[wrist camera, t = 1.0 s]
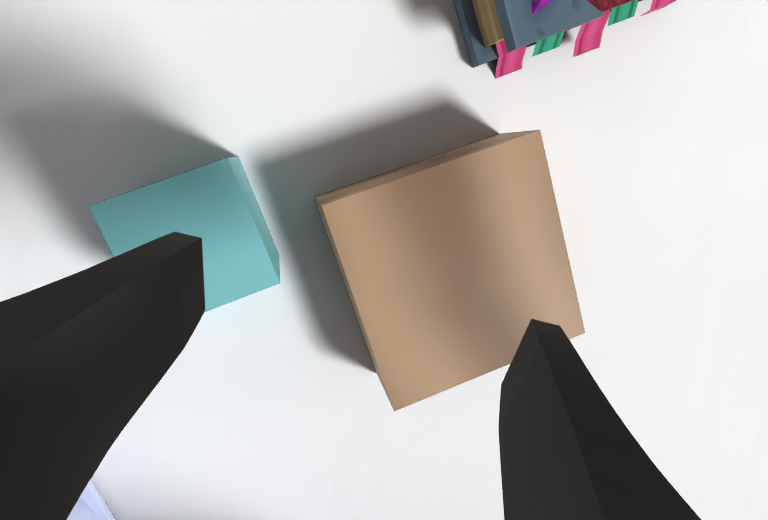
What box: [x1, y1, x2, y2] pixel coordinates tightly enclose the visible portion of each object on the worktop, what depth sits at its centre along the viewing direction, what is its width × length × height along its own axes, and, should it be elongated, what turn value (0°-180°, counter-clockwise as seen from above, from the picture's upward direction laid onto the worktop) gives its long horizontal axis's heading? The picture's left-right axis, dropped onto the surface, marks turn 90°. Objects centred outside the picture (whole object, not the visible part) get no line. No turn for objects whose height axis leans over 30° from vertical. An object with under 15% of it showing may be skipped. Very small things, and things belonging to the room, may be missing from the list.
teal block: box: [88, 157, 280, 312], centre depth 19 cm, size 4×4×5 cm
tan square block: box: [314, 130, 585, 411], centre depth 22 cm, size 9×9×4 cm
